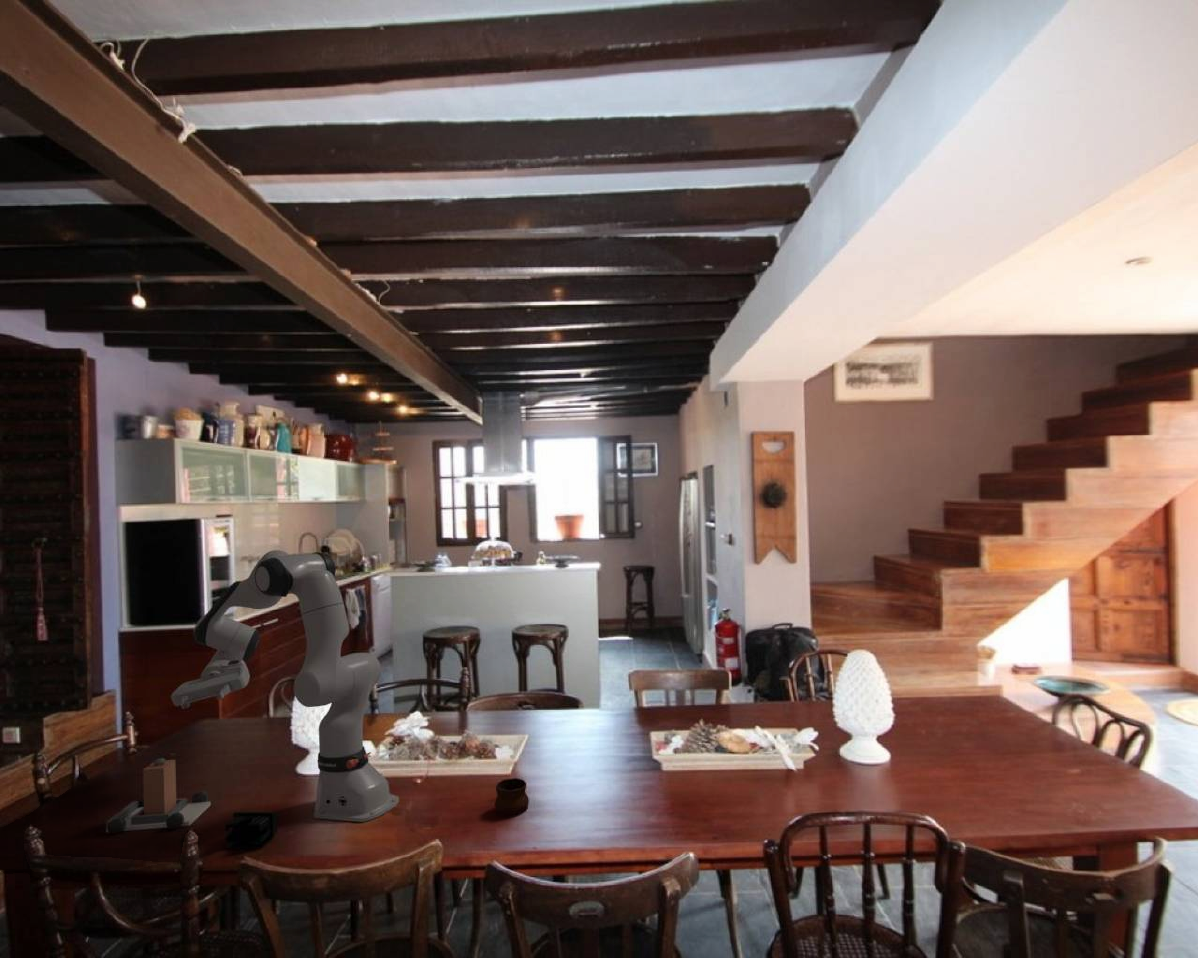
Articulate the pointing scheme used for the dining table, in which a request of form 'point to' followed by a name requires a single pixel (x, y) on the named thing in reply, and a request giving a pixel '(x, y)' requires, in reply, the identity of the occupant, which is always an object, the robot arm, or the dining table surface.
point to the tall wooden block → (159, 786)
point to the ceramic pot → (511, 797)
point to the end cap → (251, 830)
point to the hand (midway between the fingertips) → (201, 701)
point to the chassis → (158, 815)
